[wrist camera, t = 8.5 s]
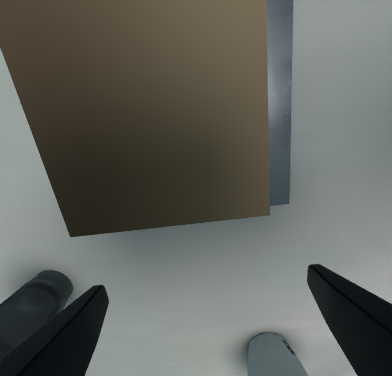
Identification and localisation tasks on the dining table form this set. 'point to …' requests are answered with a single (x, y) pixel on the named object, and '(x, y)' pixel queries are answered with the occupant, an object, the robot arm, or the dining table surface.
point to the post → (145, 107)
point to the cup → (272, 357)
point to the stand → (279, 97)
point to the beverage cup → (32, 308)
